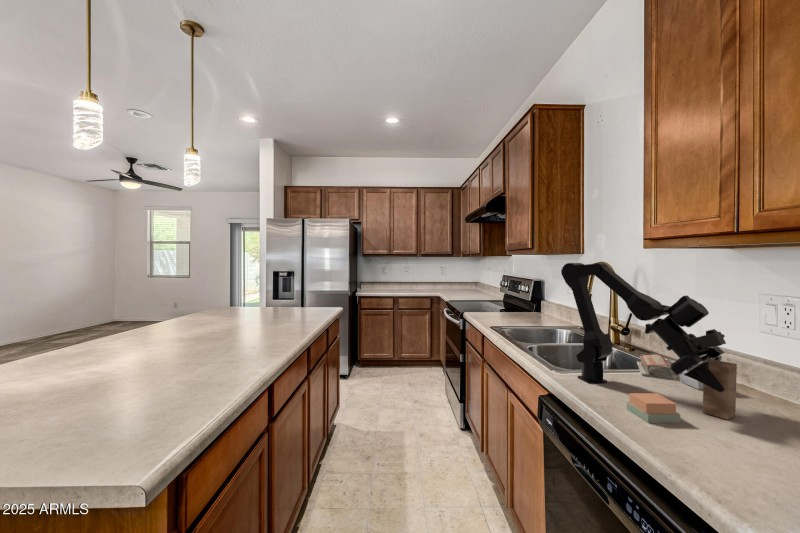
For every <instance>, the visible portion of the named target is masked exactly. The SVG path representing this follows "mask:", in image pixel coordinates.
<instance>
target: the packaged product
mask: <svg viewBox="0 0 800 533" xmlns="http://www.w3.org/2000/svg"><path fill="white" fill-rule="evenodd" d="M636 363H637V366H638V370H639V372H640V374H641V376H642V377H648V378H655V377H656V379H663V380H672V381H673V380H674V381H677V380H678V375H676V374H675V373H674V372H673V371H672V370H671V364H670V363H667V361H666V359H665V358H664V357H663V355H659V354H655V353H654V354H647V355H642V356H641V357H640V361H638V360H637V361H636Z"/></svg>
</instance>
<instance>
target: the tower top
mask: <svg viewBox="0 0 800 533" xmlns="http://www.w3.org/2000/svg"><path fill="white" fill-rule="evenodd" d="M629 402H630V403H631V404H632V405H634V406H635V407H637V408H638V409H640V410H642V411H643V412H645V413H646V414H676V412H677V404H676V402H673V401H672V400H670V399H668V398H666V397H665V396H663V395H661V394H659V393H656V392H655V393H645V392H644V393H642V392H641V393H640V392H639V393H636V392H633V393H632V392H631V393H630V392H629Z"/></svg>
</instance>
